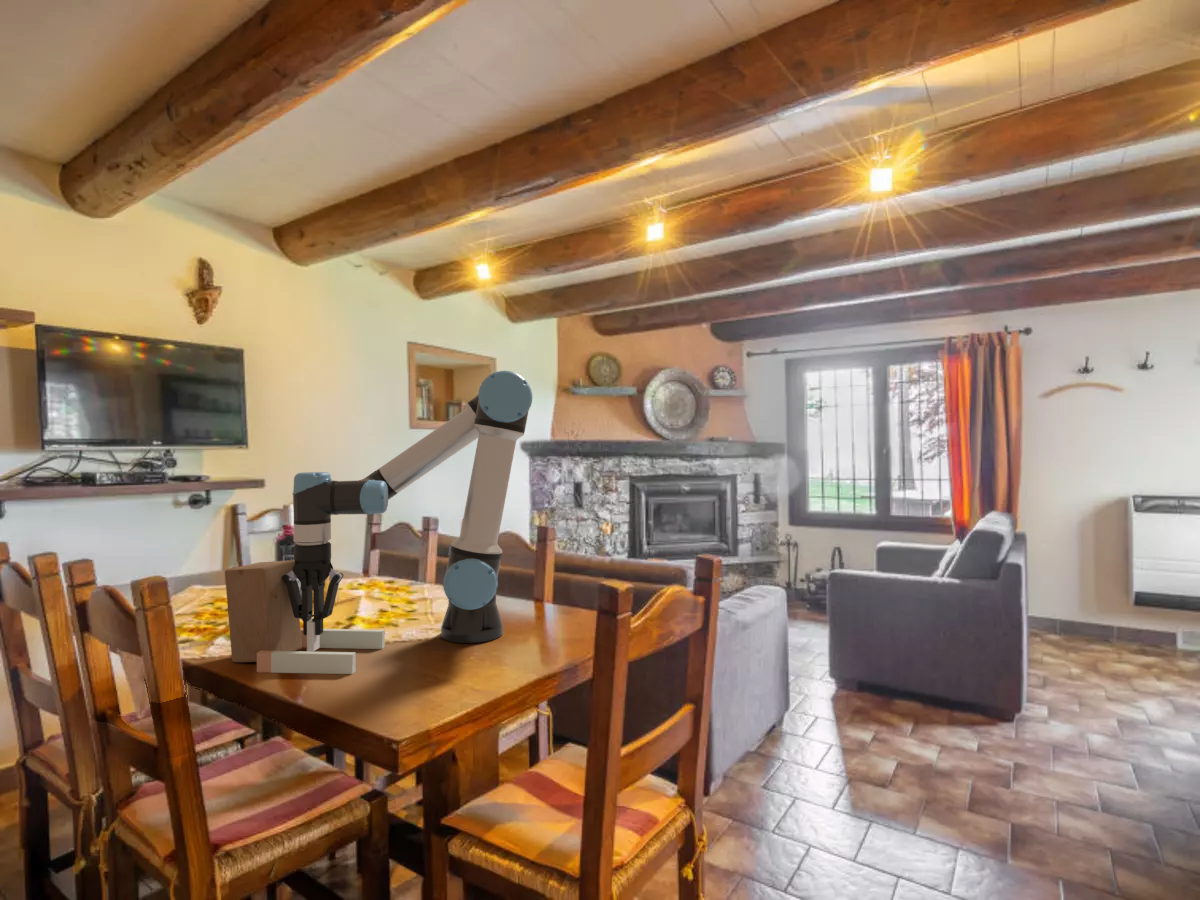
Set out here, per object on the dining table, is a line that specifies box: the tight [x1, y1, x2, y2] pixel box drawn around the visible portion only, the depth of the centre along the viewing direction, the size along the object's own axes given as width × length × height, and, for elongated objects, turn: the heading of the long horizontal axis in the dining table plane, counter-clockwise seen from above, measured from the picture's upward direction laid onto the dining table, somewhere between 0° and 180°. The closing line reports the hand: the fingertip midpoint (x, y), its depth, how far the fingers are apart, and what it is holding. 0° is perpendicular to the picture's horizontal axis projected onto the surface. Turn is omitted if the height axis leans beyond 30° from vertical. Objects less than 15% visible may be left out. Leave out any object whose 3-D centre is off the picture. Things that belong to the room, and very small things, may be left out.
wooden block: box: [224, 559, 302, 663], centre depth 142 cm, size 10×10×20 cm
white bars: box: [256, 627, 386, 675], centre depth 141 cm, size 20×18×4 cm
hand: (313, 649), depth 141 cm, fingers closed
